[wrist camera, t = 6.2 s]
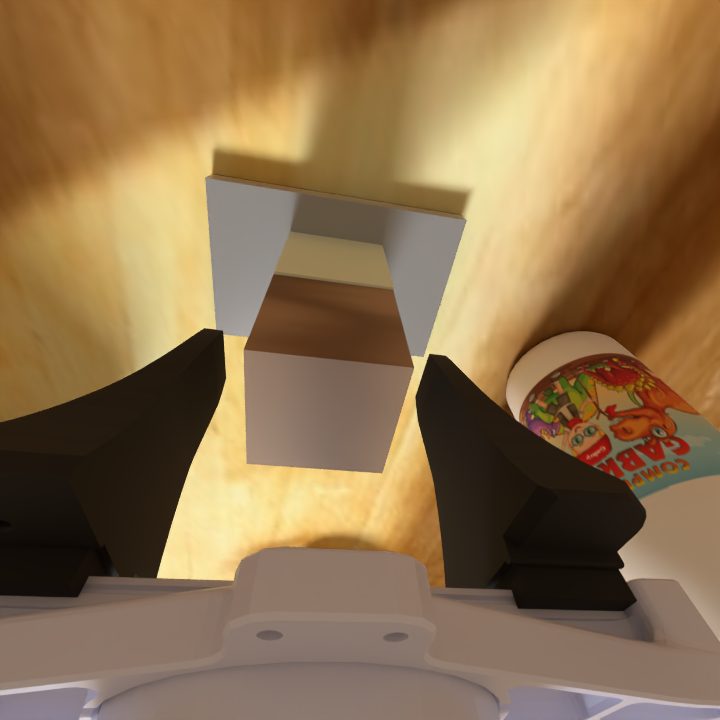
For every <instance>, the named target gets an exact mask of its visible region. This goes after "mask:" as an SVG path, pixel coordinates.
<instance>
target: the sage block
mask: <svg viewBox="0 0 720 720" xmlns="http://www.w3.org/2000/svg"><path fill="white" fill-rule="evenodd" d="M274 274H276V275H284V276H292V277H299V278H307V279H314V280H322V281H329V282H337V283H345V284H352V285H360V286H367V287H375V288H382V289H390V290H393V291H394V285H393V281H392V278H391V274H390V270H389V267H388V263H387V260H386V256H385V252H384V249H383V245H379V244H372V243H365V242H358V241H352V240H345V239H338V238H332V237H325V236H318V235H312V234H305V233H298V232H292V231H290V233H289V235H288V238H287V240H286V243H285V245H284V248H283V250H282V253H281V255H280V258H279V260H278V263H277V265H276V268H275V271H274Z"/></svg>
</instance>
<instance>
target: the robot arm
mask: <svg viewBox="0 0 720 720" xmlns="http://www.w3.org/2000/svg"><path fill="white" fill-rule="evenodd" d="M225 380H226V370H225V353H224V337H223V330H214V329H205V328H204V329H203V330H201V331H199V332H198V333H196V334H195V335H193V336H192V337H191V338H189V339H188V340H186V341H185V342H183V343H182V344H180V345H179V346H177V347H176V348H174V349H173V350H171V351H170V352H168V353H167V354H165V355H164V356H162V357H160V358H159V359H157V360H155V361H154V362H152V363H150V364H149V365H147V366H145V367H144V368H142V369H140V370H138V371H137V372H135V373H133V374H131V375H129V376H127V377H125V378H123V379H121V380H119V381H117V382H115V383H113V384H111V385H109V386H106V387H104V388H102V389H100V390H97V391H95V392H92V393H90V394H87V395H85V396H82V397H79V398H77V399H74V400H72V401H69V402H67V403H64V404H61V405H58V406H55V407H52V408H49V409H46V410H43V411H40V412H37V413H33V414H30V415H27V416H23V417H20V418H16V419H13V420H9V421H5V422H1V423H0V720H720V642H719V640H718V639H717V637H716V636H715V634H714V633H713V631H712V630H711V629H710V627H709V626H708V624H707V623H706V621H705V620H704V619H703V617H702V616H701V614H700V613H699V611H698V610H697V608H696V607H695V606H694V604H693V603H692V601H691V600H690V598H689V597H688V596H687V594H686V593H685V591H684V590H683V588H682V587H681V585H680V584H679V583H678V581H675V580H671V579H645V578H640V579H633V580H630V581H627V582H626V581H625V579H624V577H623V576H622V574H621V572H620V570H619V569H622V568H624V562H623V560H622V559H621V557H620V555H619V554H618V551H619V550H620V549H621V548H622V547H623V546H624V545H625V544H626V543H627V542H628V541H629V540H631V539H632V538H633V537H634V536H635V535H636V534H637V533H638V532H639V531H640V529H641V528H642V527H643V525H644V523H645V520H646V517H647V515H646V509H645V508H644V507H643V505H642V504H641V502H640V501H639V500H638V498H637V497H636V496H635V494H634V493H633V491H632V490H631V489H630V487H629V486H628V485H627V483H626V482H625V481H623V480H621V479H619V478H617V477H614V476H612V475H610V474H608V473H606V472H604V471H601V470H599V469H597V468H595V467H593V466H591V465H589V464H587V463H585V462H583V461H581V460H579V459H577V458H575V457H574V456H572V455H570V454H568V453H566V452H564V451H563V450H561V449H559V448H557V447H556V446H554V445H552V444H551V443H549V442H548V441H546V440H544V439H543V438H541V437H540V436H538V435H537V434H535V433H534V432H532V431H531V430H529V429H528V428H526V427H525V426H523V425H522V424H521V423H519V422H518V421H517V420H515V419H514V418H513V417H511V416H510V415H509V414H508V413H506V412H505V411H504V410H503V409H501V408H500V407H499V406H498V405H497V404H496V403H495V402H493V401H492V400H491V399H490V398H489V397H488V396H487V395H486V394H484V393H483V392H482V391H481V390H480V389H479V388H478V387H477V386H476V385H475V384H474V383H473V382H472V381H471V380H470V379H469V378H468V377H467V376H466V375H465V374H464V373H463V372H462V371H461V370H460V369H459V368H458V367H457V366H456V365H455V364H454V363H453V362H452V361H451V360H450V359H449V358H448V357H446V356H443V355H434V354H429V357H428V360H427V363H426V366H425V369H424V372H423V375H422V378H421V381H420V384H419V388H418V391H417V394H416V408H417V416H418V422H419V427H420V430H421V434H422V438H423V442H424V446H425V450H426V453H427V457H428V461H429V465H430V469H431V472H432V477H433V481H434V487H435V493H436V500H437V507H438V515H439V523H440V531H441V539H442V549H443V560H444V571H445V584H446V588H441V587H430V586H429V581H428V575H427V569H426V567H425V566H424V565H423V564H421V563H420V562H419V561H417V560H416V559H415V558H413V557H412V556H411V555H407V554H402V553H397V552H392V551H374V550H351V549H329V548H306V547H276V548H266V549H262V550H259V551H257V552H255V553H253V554H251V555H249V556H247V557H245V558H244V559H242V560H241V562H240V564H239V566H238V568H237V570H236V572H235V577H234V581H223V580H191V579H160V578H157V574H158V570H159V567H160V563H161V559H162V555H163V552H164V549H165V545H166V542H167V538H168V535H169V531H170V528H171V524H172V521H173V518H174V515H175V511H176V508H177V505H178V502H179V498H180V495H181V492H182V489H183V486H184V483H185V480H186V477H187V474H188V471H189V468H190V466H191V463H192V461H193V458H194V456H195V454H196V451H197V449H198V447H199V445H200V443H201V441H202V438H203V436H204V434H205V432H206V430H207V428H208V426H209V423H210V421H211V419H212V417H213V415H214V412H215V410H216V408H217V406H218V403H219V400H220V397H221V394H222V391H223V387H224V384H225Z"/></svg>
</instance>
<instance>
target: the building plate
mask: <svg viewBox="0 0 720 720" xmlns="http://www.w3.org/2000/svg"><path fill="white" fill-rule="evenodd" d="M205 180H206V193H207V207H208V221H209V235H210V248H211V262H212V276H213V290H214V303H215V317H216V330H223V334H225V335H234V336H243V337H249V335H250V333H251V330H252V328H253V325H254V323H255V320H256V317H257V315H258V312H259V310H260V307H261V305H262V302H263V300H264V297H265V295H266V292H267V290H268V287H269V284H270V282H271V279H272V277H273V274H274V271H275V268H276V265H277V263H278V260H279V258H280V255H281V253H282V250H283V248H284V245H285V243H286V240H287V238H288V235H289V233H290V231H292V232H298V233H305V234H312V235H318V236H325V237H332V238H338V239H345V240H352V241H358V242H365V243H372V244H379V245H383V249H384V252H385V256H386V260H387V263H388V267H389V270H390V274H391V278H392V281H393V285H394V295H395V299H396V302H397V306H398V310H399V314H400V317H401V321H402V325H403V329H404V332H405V336H406V340H407V344H408V347H409V351H410V355H412V356H421V357H424V354H425V350H426V347H427V344H428V341H429V338H430V335H431V331H432V328H433V325H434V322H435V319H436V316H437V312H438V309H439V306H440V303H441V300H442V297H443V293H444V290H445V287H446V284H447V281H448V278H449V274H450V271H451V268H452V265H453V262H454V259H455V255H456V252H457V249H458V246H459V243H460V240H461V236H462V233H463V230H464V227H465V224H466V221H467V220H466V219H465V218H464V217H463V216H462V215H458V214H452V213H446V212H439V211H433V210H427V209H421V208H415V207H409V206H403V205H397V204H391V203H385V202H379V201H372V200H366V199H360V198H354V197H348V196H342V195H336V194H330V193H324V192H318V191H312V190H305V189H299V188H293V187H287V186H281V185H275V184H269V183H263V182H257V181H251V180H245V179H238V178H232V177H226V176H220V175H214V174H211V175H210V176H208V177H206V178H205Z"/></svg>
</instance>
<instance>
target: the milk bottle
mask: <svg viewBox="0 0 720 720" xmlns="http://www.w3.org/2000/svg"><path fill="white" fill-rule="evenodd" d="M506 398H507V402H508V405H509V407H510V409H511V411H512V413H513V415H514V417H515V419H516V420H517V421H518V422H519V423H521V424H522V425H523V426H525V427H526V428H528V429H529V430H531V431H532V432H534V433H535V434H537V435H538V436H540V437H541V438H543V439H544V440H546V441H548V442H549V443H551V444H552V445H554V446H556V447H557V448H559V449H561V450H563V451H564V452H566V453H568V454H570V455H572V456H574V457H575V458H577V459H579V460H581V461H583V462H585V463H587V464H589V465H591V466H593V467H595V468H597V469H599V470H601V471H604V472H606V473H608V474H610V475H612V476H614V477H617V478H619V479H621V480H623V481H625V482H626V483H627V485H628V486H629V487H630V489H631V490H632V491H633V493H634V494H635V496H636V497H637V498H638V500H639V501H640V502H641V504H642V505H643V507H644V508H645V509H646V515H647V517H646V520H645V523H644V525H643V527H642V528H641V529H640V531H639V532H638V533H637V534H636V535H635V536H634V537H633V538H632V539H631V540H629V541H628V542H627V543H626V544H625V545H624V546H623V547H622V548H621V549H620V550H619V551H618V554H619V555H620V557H621V559H622V560H623V562H624V568H622V569H619V570H620V572H621V574H622V576H623V577H624V579H625V581H626V582H627V581H630V580H633V579H640V578H645V579H671V580H675V581H678V583H679V584H680V585H681V587H682V588H683V590H684V591H685V593H686V594H687V596H688V597H689V598H690V600H691V601H692V603H693V604H694V606H695V607H696V608H697V610H698V611H699V613H700V614H701V616H702V617H703V619H704V620H705V621H706V623H707V624H708V626H709V627H710V629H711V630H712V631H713V633H714V634H715V636H716V637H717V639H718V640H719V642H720V431H719V430H718V429H717V428H715V427H714V426H713V425H712V424H711V423H710V422H709V421H708V420H706V419H705V418H704V417H703V416H702V415H701V414H700V413H699V412H698V411H696V410H695V409H694V408H693V407H692V406H691V405H690V404H689V403H687V402H686V401H685V400H684V399H683V398H682V397H681V396H679V395H678V394H677V393H676V392H675V391H674V390H673V389H671V388H670V387H669V386H668V385H667V384H666V383H665V382H664V381H662V380H661V379H660V378H659V377H658V376H657V375H656V374H654V373H653V372H652V371H651V370H650V369H649V368H648V367H646V366H645V365H644V364H643V363H642V362H641V361H640V360H638V359H637V358H636V357H635V356H634V355H633V354H632V353H630V352H629V351H628V350H627V349H626V348H624V347H623V346H622V345H621V344H619V343H618V342H617V341H616V340H614V339H613V338H611V337H609V336H607V335H604V334H600V333H595V332H590V331H575V332H568V333H563V334H560V335H557V336H553V337H551V338H549V339H547V340H545V341H543V342H541V343H539V344H538V345H536V346H535V347H533V348H531V349H530V350H529V351H528V352H527V353H526V354H525V355H523V356H522V357H521V359H520V360H519V361H518V362H517V363H516V364H515V366H514V368H513V369H512V371H511V373H510V375H509V378H508V381H507V389H506Z"/></svg>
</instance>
